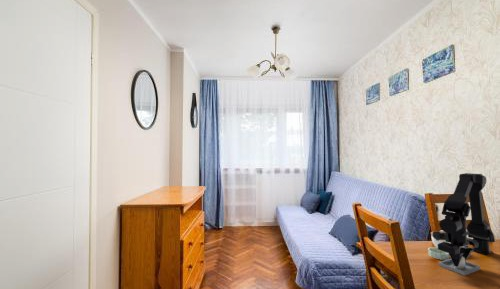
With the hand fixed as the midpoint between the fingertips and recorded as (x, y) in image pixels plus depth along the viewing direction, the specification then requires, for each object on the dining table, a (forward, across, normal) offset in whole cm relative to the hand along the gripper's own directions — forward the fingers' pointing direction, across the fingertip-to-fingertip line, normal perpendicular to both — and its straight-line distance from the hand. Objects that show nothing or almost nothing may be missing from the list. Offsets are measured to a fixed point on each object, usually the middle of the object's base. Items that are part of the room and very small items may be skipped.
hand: (458, 265), depth 99 cm
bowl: (+1, -4, -10) cm, 11 cm away
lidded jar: (+2, -16, -14) cm, 21 cm away
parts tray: (+1, 0, 0) cm, 1 cm away
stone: (+1, 0, 0) cm, 1 cm away
